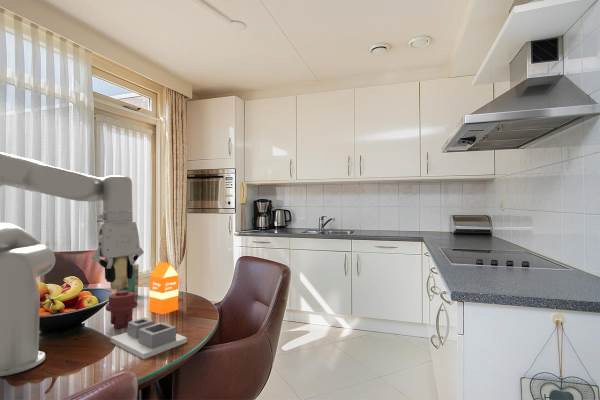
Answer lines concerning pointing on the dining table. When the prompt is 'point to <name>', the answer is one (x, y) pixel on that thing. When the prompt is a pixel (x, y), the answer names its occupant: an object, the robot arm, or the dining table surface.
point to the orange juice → (163, 289)
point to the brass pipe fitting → (120, 273)
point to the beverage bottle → (130, 283)
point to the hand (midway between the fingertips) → (119, 279)
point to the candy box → (135, 278)
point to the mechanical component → (121, 308)
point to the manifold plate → (148, 338)
